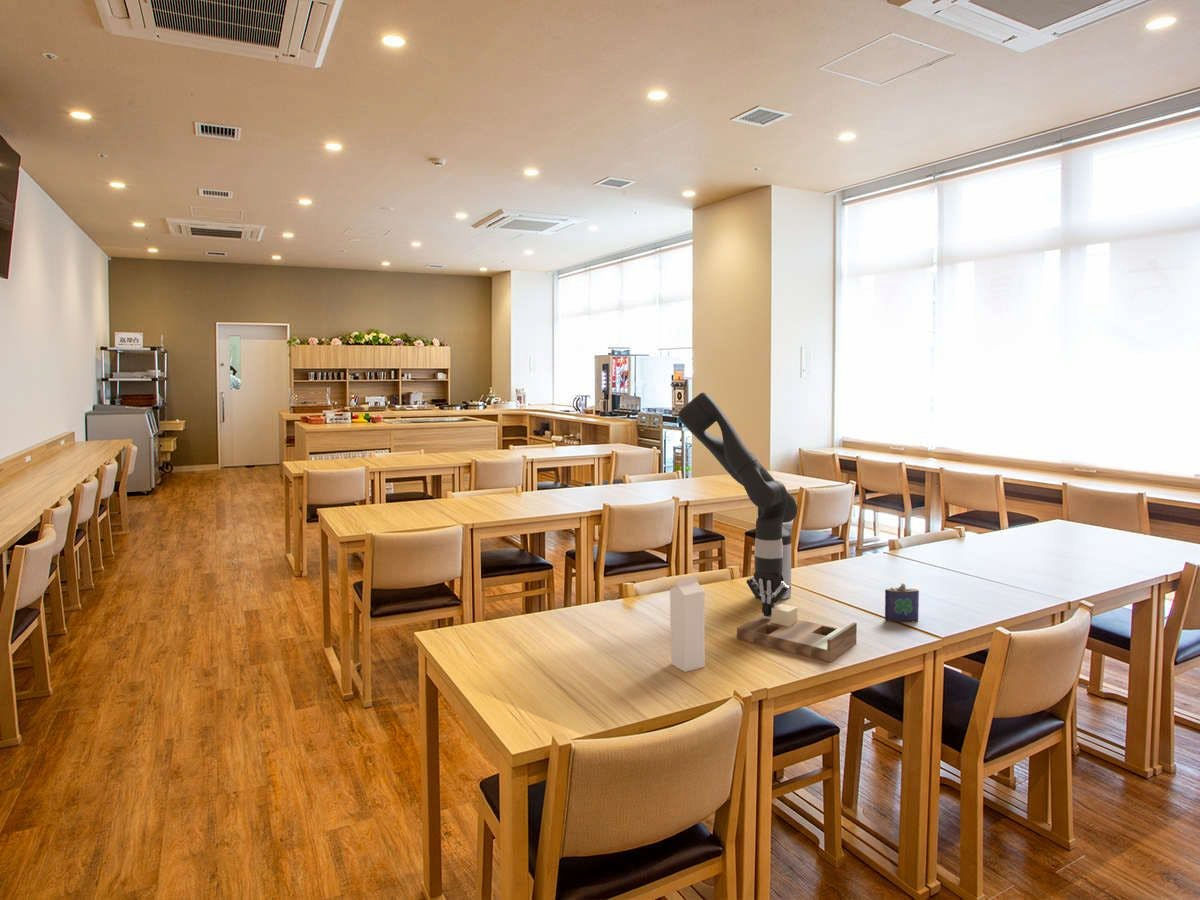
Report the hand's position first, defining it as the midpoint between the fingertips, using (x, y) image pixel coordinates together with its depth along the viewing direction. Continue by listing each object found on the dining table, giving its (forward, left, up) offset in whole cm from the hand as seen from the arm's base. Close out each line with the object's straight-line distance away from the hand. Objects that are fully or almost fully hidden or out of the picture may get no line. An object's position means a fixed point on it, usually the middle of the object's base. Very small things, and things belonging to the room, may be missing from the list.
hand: (768, 615), depth 202 cm
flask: (+26, +29, -4) cm, 39 cm away
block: (+5, 0, -1) cm, 5 cm away
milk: (-3, -35, -4) cm, 35 cm away
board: (+10, -4, -4) cm, 11 cm away
